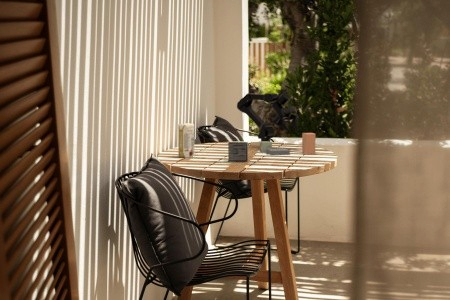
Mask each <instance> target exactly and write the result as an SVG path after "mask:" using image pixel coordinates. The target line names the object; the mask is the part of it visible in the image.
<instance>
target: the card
mask: <svg viewBox="0 0 450 300" xmlns="http://www.w3.org/2000/svg"><path fill="white" fill-rule="evenodd" d="M291 151H292V152H294V153H298V152H299V153H302V148H301V149H298V148H297V149H291Z"/></svg>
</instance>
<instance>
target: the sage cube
mask: <svg viewBox="0 0 450 300" xmlns="http://www.w3.org/2000/svg"><path fill="white" fill-rule="evenodd" d="M258 149H259V150H258V151H259V152H260V153H266V149H273V144H272V141H270V142H269V141H261V140H260V141H259V142H258Z"/></svg>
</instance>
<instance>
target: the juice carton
mask: <svg viewBox="0 0 450 300" xmlns="http://www.w3.org/2000/svg"><path fill="white" fill-rule="evenodd" d="M177 125H178V126H177V130H178V133H177V135H178V136H177V140H178V142H177V146H178V148H177V149H178V150H177V152H178V154H177V155H178V157H179V158H184V159H186V158H193V157H192V156H194V157H195V124H194V123H188V122H186V123H179V124H177Z"/></svg>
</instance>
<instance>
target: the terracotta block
mask: <svg viewBox="0 0 450 300" xmlns="http://www.w3.org/2000/svg"><path fill="white" fill-rule="evenodd" d="M301 134H302V135H301V136H302V137H301V138H302V140H301V143H302V144H301V149H302V152H301V154H304V155H315V154H316V135H317V134H316V133H313V132H302V133H301Z"/></svg>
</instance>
